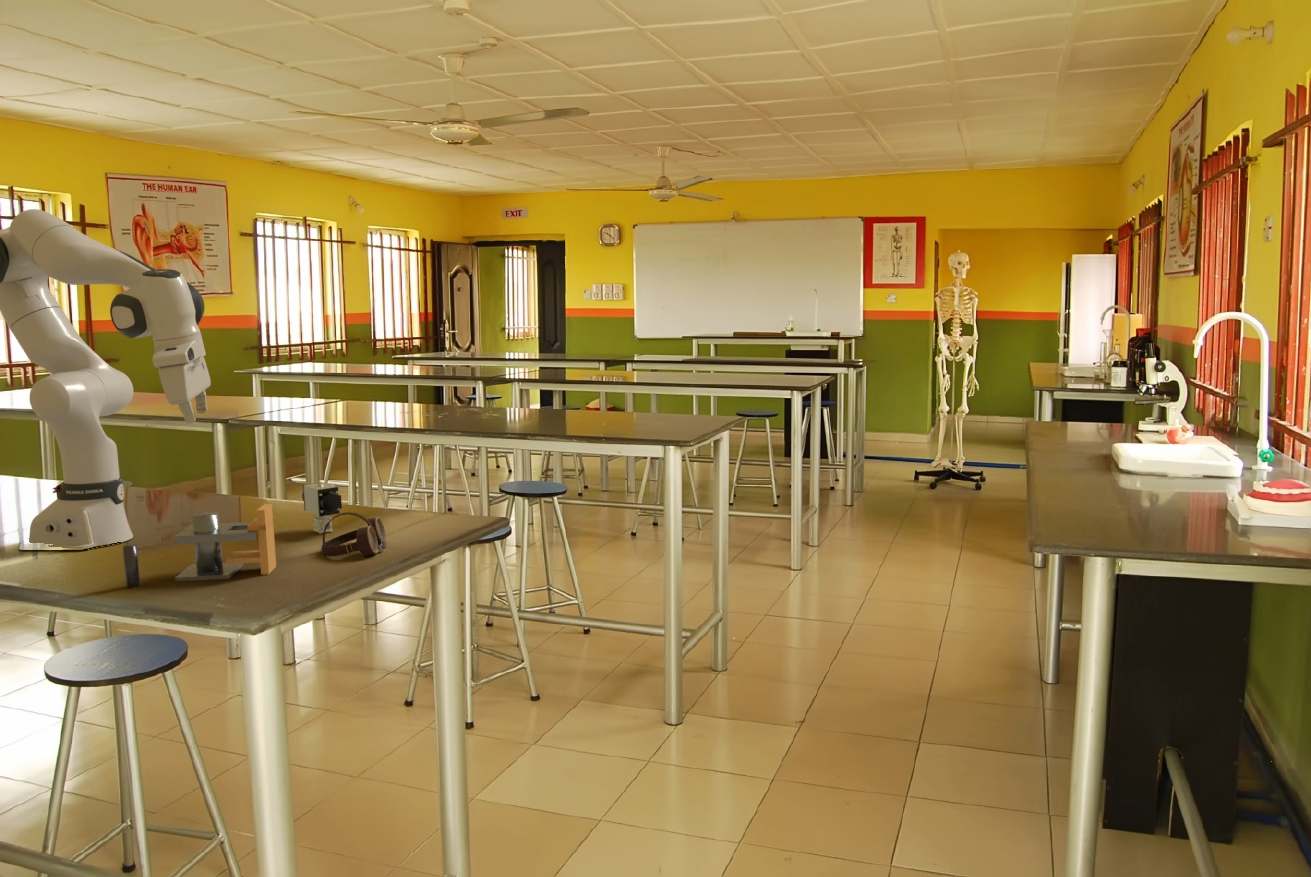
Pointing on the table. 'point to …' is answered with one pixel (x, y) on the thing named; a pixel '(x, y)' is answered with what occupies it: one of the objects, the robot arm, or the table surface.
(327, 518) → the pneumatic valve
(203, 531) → the double plate spool
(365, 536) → the goggles
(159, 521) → the table surface
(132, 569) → the pin
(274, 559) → the bracket
